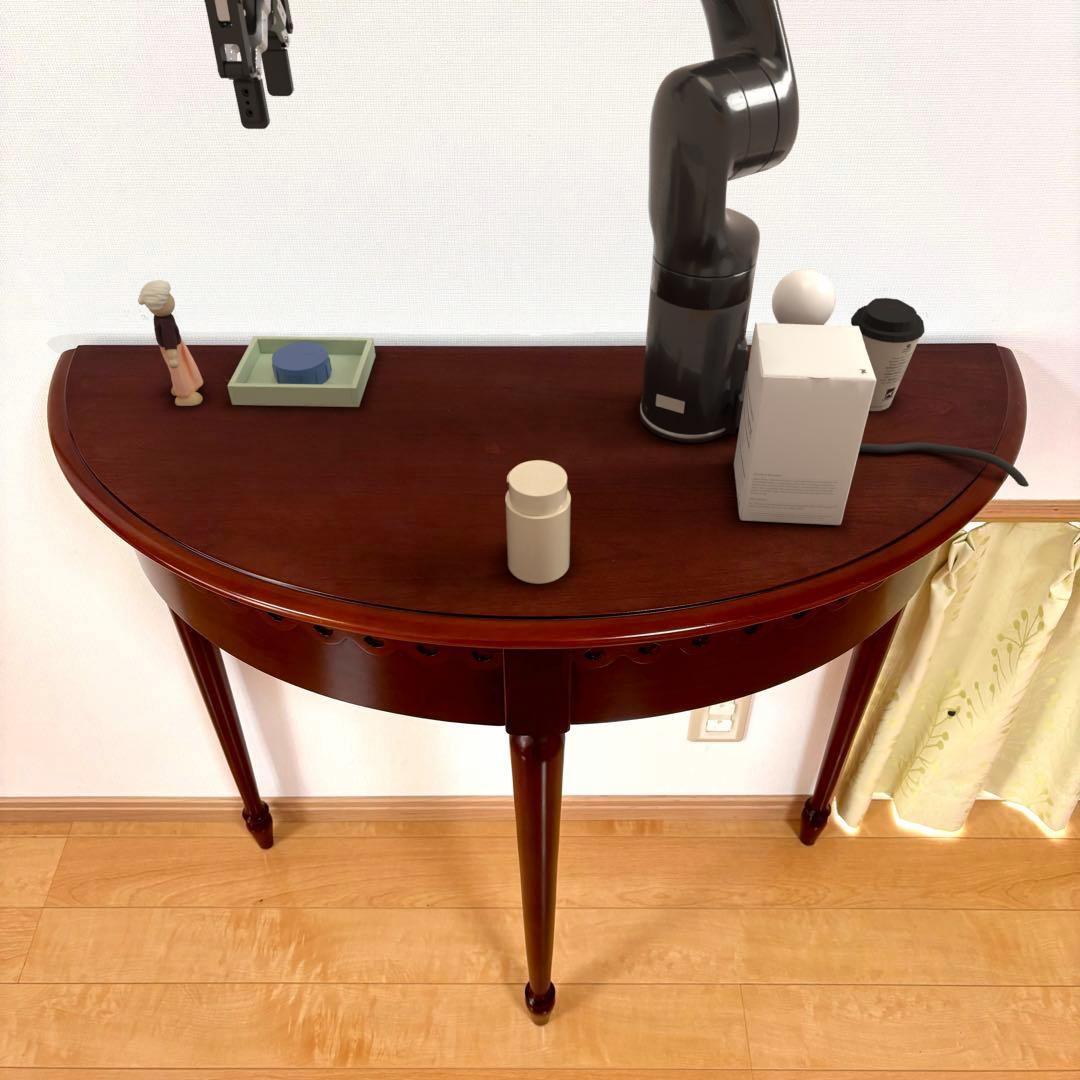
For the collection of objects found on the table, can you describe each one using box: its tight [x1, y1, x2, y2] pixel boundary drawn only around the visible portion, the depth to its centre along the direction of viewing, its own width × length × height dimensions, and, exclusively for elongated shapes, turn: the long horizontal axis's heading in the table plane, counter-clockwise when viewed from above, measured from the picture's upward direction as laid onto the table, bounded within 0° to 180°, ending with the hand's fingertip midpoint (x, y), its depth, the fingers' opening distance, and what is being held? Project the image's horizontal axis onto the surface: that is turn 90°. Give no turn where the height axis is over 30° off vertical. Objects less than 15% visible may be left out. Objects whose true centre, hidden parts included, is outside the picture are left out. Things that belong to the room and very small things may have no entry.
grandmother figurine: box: [137, 279, 204, 407], centre depth 96 cm, size 8×4×13 cm, turn 34°
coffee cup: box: [850, 297, 926, 412], centre depth 96 cm, size 7×7×10 cm
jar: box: [504, 459, 572, 585], centre depth 78 cm, size 5×5×9 cm
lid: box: [272, 342, 332, 384], centre depth 101 cm, size 6×6×2 cm
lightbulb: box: [771, 268, 837, 325], centre depth 100 cm, size 6×6×11 cm
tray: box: [226, 335, 377, 408], centre depth 102 cm, size 13×10×2 cm
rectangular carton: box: [733, 321, 876, 526], centre depth 82 cm, size 9×9×15 cm
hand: (269, 110), depth 82 cm, fingers open, 8 cm apart
